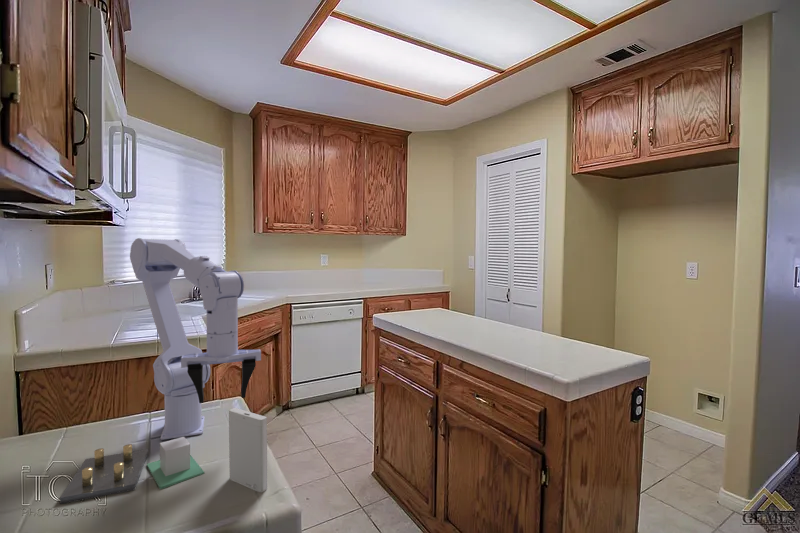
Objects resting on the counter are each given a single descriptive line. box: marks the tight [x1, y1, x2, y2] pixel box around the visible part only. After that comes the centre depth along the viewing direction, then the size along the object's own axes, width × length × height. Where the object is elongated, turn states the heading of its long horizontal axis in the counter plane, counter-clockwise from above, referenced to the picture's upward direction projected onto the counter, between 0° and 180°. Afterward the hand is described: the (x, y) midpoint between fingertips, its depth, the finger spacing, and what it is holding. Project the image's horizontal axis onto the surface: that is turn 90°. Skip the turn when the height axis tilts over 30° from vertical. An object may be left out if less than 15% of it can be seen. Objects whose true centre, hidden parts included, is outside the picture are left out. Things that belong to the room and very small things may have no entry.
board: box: [146, 437, 205, 490], centre depth 74 cm, size 10×7×5 cm
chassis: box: [59, 443, 149, 505], centre depth 72 cm, size 13×10×4 cm
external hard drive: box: [228, 407, 268, 493], centre depth 70 cm, size 2×8×12 cm, turn 60°
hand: (222, 398), depth 82 cm, fingers open, 7 cm apart
